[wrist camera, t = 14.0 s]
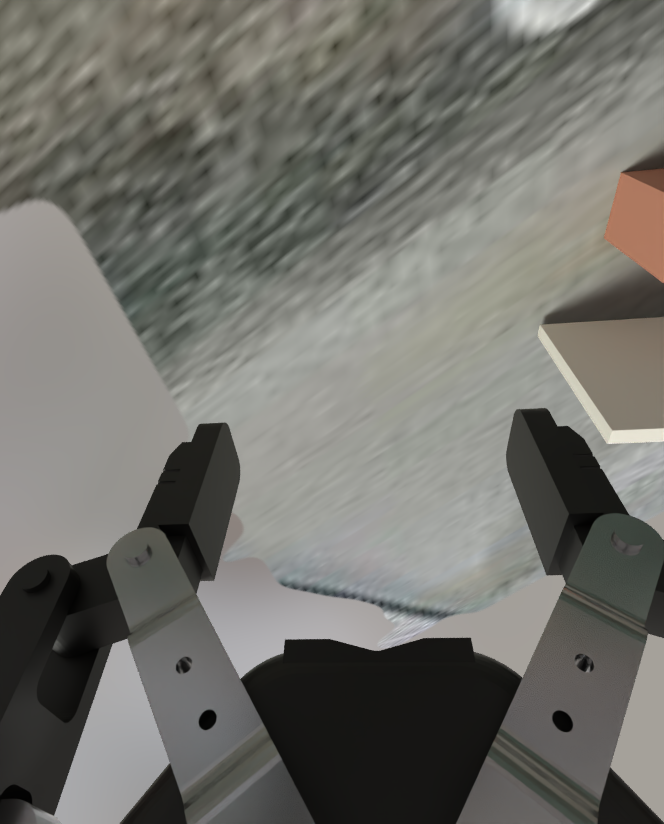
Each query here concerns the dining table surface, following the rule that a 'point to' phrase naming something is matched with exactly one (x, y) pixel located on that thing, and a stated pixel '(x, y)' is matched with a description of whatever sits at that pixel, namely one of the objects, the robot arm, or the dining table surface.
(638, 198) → the salmon orange block
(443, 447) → the dining table surface
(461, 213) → the dining table surface
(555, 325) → the door
